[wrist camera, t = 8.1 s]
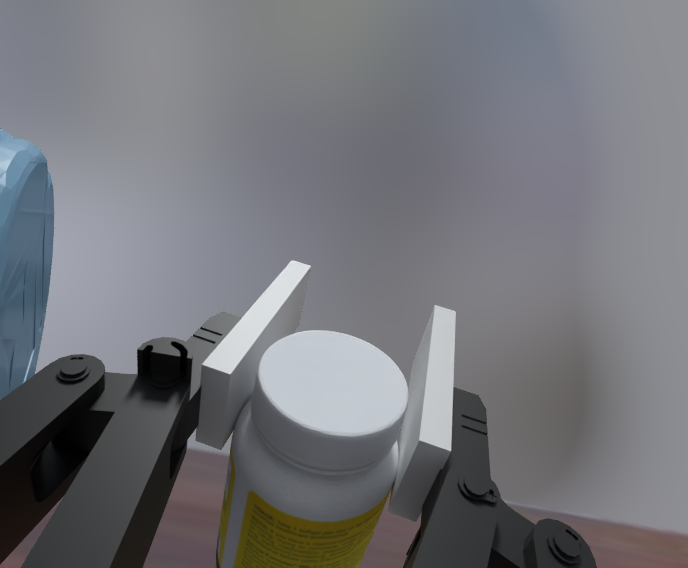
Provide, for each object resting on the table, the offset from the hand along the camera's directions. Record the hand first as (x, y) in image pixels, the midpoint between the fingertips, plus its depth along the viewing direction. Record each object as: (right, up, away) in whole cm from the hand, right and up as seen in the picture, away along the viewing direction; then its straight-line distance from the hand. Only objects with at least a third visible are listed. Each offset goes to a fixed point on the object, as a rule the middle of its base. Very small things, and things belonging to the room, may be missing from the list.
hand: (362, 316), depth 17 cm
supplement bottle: (-3, -8, -1) cm, 9 cm away
